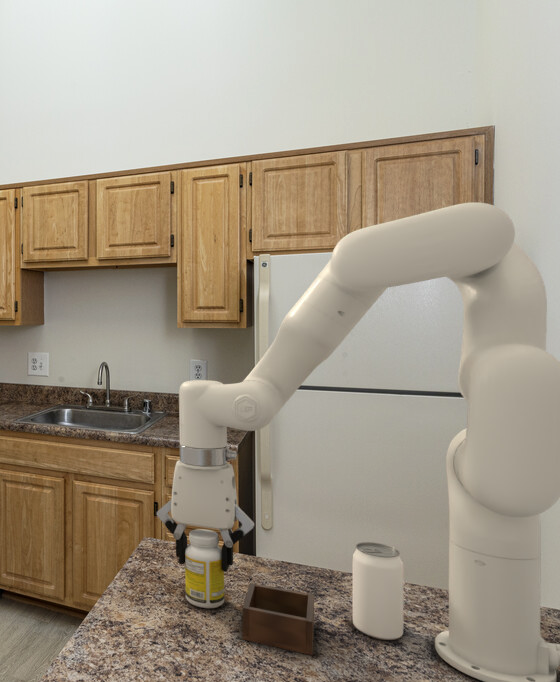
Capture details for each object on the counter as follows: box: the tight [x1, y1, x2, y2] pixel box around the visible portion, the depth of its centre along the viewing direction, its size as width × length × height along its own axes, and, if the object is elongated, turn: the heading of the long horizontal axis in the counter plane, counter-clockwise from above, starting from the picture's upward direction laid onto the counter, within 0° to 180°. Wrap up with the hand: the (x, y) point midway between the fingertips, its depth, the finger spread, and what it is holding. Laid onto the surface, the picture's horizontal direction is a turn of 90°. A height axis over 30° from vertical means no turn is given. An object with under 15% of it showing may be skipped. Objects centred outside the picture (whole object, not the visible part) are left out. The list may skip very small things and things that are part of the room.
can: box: [352, 541, 404, 641], centre depth 83 cm, size 6×6×12 cm
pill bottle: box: [184, 528, 225, 609], centre depth 92 cm, size 6×6×11 cm
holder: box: [242, 582, 315, 656], centre depth 82 cm, size 9×9×5 cm
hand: (204, 563), depth 92 cm, fingers closed on pill bottle, 6 cm apart
